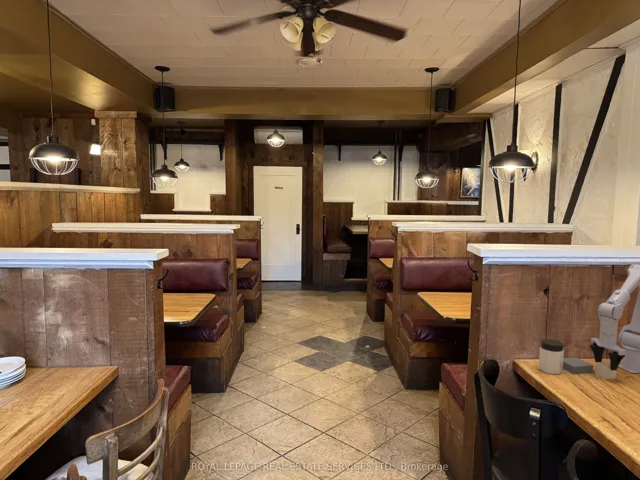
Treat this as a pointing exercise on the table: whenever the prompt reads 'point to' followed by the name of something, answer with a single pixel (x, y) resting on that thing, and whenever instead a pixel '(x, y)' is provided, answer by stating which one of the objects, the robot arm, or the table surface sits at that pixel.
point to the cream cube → (604, 370)
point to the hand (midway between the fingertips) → (605, 366)
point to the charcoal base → (577, 366)
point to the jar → (551, 356)
